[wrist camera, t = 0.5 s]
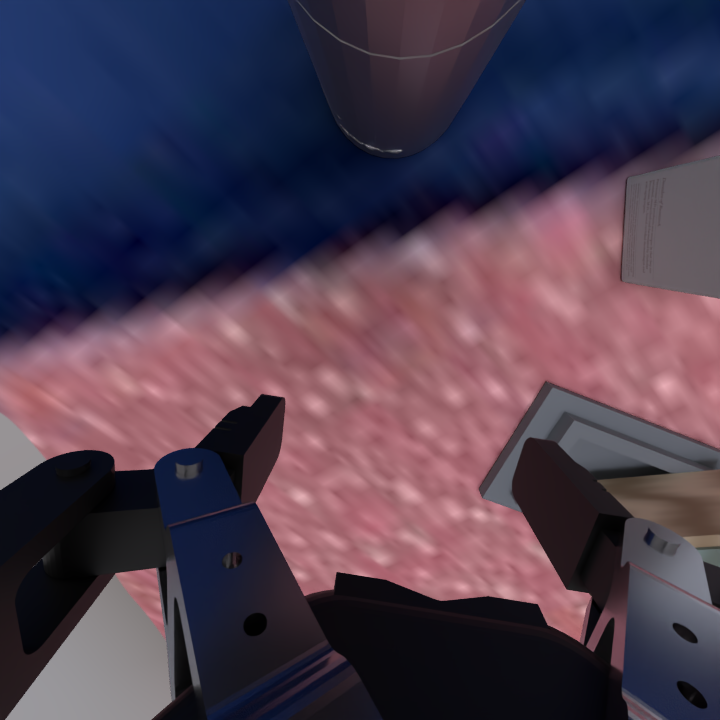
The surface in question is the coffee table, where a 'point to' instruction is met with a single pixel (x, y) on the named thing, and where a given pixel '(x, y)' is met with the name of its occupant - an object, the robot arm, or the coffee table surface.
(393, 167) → the coffee table surface
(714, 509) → the oak frame
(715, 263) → the supplement box
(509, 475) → the grey rectangular framed panel
